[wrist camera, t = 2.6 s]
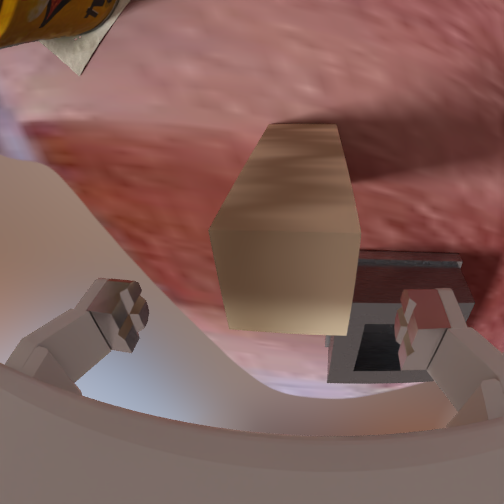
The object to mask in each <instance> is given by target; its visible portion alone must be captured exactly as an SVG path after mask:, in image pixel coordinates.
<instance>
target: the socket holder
mask: <svg viewBox="0 0 504 504" xmlns="http://www.w3.org/2000/svg"><path fill="white" fill-rule="evenodd" d="M462 262H463V261H462V259H461V257H460V255H459V254H456V253H426V252H395V251H363V250H359V257H358V265H357V273H356V280H355V287H354V294H353V300H352V307H351V313H350V319H349V324H348V330H347V336H337V335H326V338H325V347H329V350H328V374H327V383H410V382H428V381H434V380H433V378H432V377H431V376H430V375H429V373H428V372H427V370H402V371H401V367H400V361H399V356H398V351H399V348H400V346H401V345H400V344H399V343H398V342H397V341H396V338H395V330H394V326H395V317H396V313H397V310H398V309H399V308H401V307H402V304H401V300H400V299H401V295H402V292H403V291H404V289H435V288H450V289H452V291H453V293H454V295H455V298H456V300H457V302H458V305H459V307H460V309H461V312H462V314H463V317H464V319H465V322H466V321H467V319H468V317H469V315H470V313H471V311H472V308H473V306H474V304H475V301H474V299H473V297H472V294H471V292H470V290H469V287H468V285H467V283H466V280H465V278H464V276H463V274H462V272H461V269H460V268H461V265H462Z"/></svg>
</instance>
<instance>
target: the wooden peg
mask: <svg viewBox="0 0 504 504" xmlns="http://www.w3.org/2000/svg"><path fill="white" fill-rule="evenodd" d="M209 235H210V240H211V246H212V250H213V255H214V260H215V265H216V270H217V275H218V280H219V284H220V289H221V294H222V298H223V303H224V308H225V312H226V317H227V321H228V326H229V329H235V330H247V331H260V332H274V333H290V334H310V335H337V336H347V330H348V324H349V319H350V313H351V307H352V300H353V294H354V287H355V280H356V273H357V265H358V257H359V249H360V240H361V230H360V224H359V219H358V214H357V209H356V204H355V199H354V195H353V190H352V186H351V181H350V177H349V172H348V168H347V164H346V160H345V156H344V152H343V148H342V144H341V140H340V136H339V133H338V129H337V125H336V124H269V125H268V127H267V128H266V130H265V132H264V133H263V135H262V137H261V139H260V140H259V142H258V144H257V145H256V147H255V149H254V150H253V152H252V154H251V156H250V157H249V159H248V161H247V162H246V164H245V166H244V168H243V169H242V171H241V173H240V175H239V176H238V178H237V180H236V182H235V183H234V185H233V187H232V189H231V190H230V192H229V194H228V196H227V197H226V199H225V201H224V203H223V205H222V206H221V208H220V210H219V212H218V214H217V215H216V217H215V219H214V221H213V223H212V225H211V226H210V228H209Z"/></svg>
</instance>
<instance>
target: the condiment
mask: <svg viewBox="0 0 504 504" xmlns="http://www.w3.org/2000/svg"><path fill="white" fill-rule="evenodd" d="M129 1H130V0H0V49H3V48H7V47H12V46H17V45H19V44H24V43H29V42H35V41H39V42H40V43H41V44H43V45H44V46H45V47H47V48H48V49H49V50H50V51H51V52H52V53H53V54H55V55H57V56H58V58H59V59H60V60H61V61H63V62H64V63H65V64H66V65H68V66H69V67H70V68H71V69H72V70H73V71H74V72H75V73H76V74H77V75H78V76H80V74H81V72H82V71H83V68H84V67H85V65H86V64H87V62H88V61H89V59H90V57H91V55H92V53H93V52H94V50H95V49H96V47H97V46H98V44H99V42H100V41H101V40H102V38H103V37H104V35H105V34H106V32H107V31H108V30H109V28H110V27H111V26H112V24H113V23H114V22H115V20H116V19H117V17H118V16H119V14H120V13H121V12H122V11H123V9H124V8H125V6H126V5H127V4H128V3H129ZM79 36H81V38H79ZM75 38H77V40H76V41H75V40H74V39H75Z"/></svg>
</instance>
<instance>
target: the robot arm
mask: <svg viewBox="0 0 504 504" xmlns="http://www.w3.org/2000/svg"><path fill="white" fill-rule="evenodd" d="M141 291H142V290H141V287H140V285H139V283H138V282H136V281H129V280H119V279H106V278H98V279H96V280H95V281H94V283H93V284H92V285H91V287H90V288H89V289H88V291H87V292H86V293H85V295H84V296H83V297H82V299H81V300H80V302H79V303H78V304H77V306H76V307H75V309H70V310H68V311H66V312H65V313H63V314H61V315H60V316H58V317H57V318H55V319H53V320H52V321H50V322H48V323H47V324H45V325H44V326H42V327H41V328H39V329H37V330H36V331H34V332H32V333H31V334H29V335H28V336H26V337H24V338H23V339H22V340H21V341H20V343H19V344H18V345H17V347H16V348H15V350H14V351H13V353H12V354H11V356H10V357H9V359H8V360H7V362H6V363H5V365H4V364H2V363H0V504H504V355H503V354H502V353H501V352H500V351H499V350H498V349H496V348H495V347H494V346H493V345H492V344H491V343H490V342H488V341H487V340H486V339H485V338H484V337H483V336H481V335H480V334H479V333H478V332H477V331H476V330H474V329H473V328H472V327H467V325H466V322H465V319H464V317H463V314H462V312H461V309H460V307H459V305H458V302H457V300H456V298H455V295H454V293H453V291H452V289H450V288H435V289H404V291H403V292H402V295H401V299H400V300H401V304H402V307H401V308H399V309H398V310H397V313H396V317H395V326H394V330H395V338H396V341H397V342H398V343H399V344H400V345H401V346H400V348H399V351H398V356H399V361H400V367H401V371H402V370H427V372H428V373H429V375H430V376H431V377H432V378H433V380H434V381H435V382H436V383H437V385H438V386H439V387H440V389H441V390H442V391H443V392H444V394H445V395H446V396H447V398H448V399H449V400H450V402H451V403H452V404H453V406H454V407H455V408H456V409H457V411H458V413H457V414H456V415H455V416H454V418H453V419H452V420H451V421H450V422H449V423H448V424H447V426H446V428H442V429H435V430H427V431H419V432H409V433H399V434H386V435H367V436H303V435H302V436H301V435H284V434H270V433H259V432H249V431H240V430H232V429H224V428H217V427H210V426H204V425H198V424H192V423H187V422H182V421H177V420H171V419H167V418H162V417H157V416H153V415H149V414H145V413H140V412H136V411H132V410H129V409H125V408H121V407H118V406H114V405H111V404H107V403H104V402H100V401H97V400H94V399H91V398H88V397H85V396H82V393H81V391H80V389H79V388H78V387H77V386H76V385H75V384H74V383H75V382H76V381H77V380H78V379H79V378H80V377H82V376H83V375H84V374H85V373H86V372H87V371H88V370H90V369H91V368H92V367H93V366H94V365H95V364H97V363H98V362H99V361H100V360H101V359H103V358H104V357H105V356H106V355H107V354H108V353H109V352H111V350H116V351H122V352H129V353H132V352H133V350H134V348H135V346H136V344H137V342H138V340H139V334H138V332H139V331H141V330H142V329H144V328H145V326H146V324H147V321H148V316H149V309H148V305H147V302H146V300H145V299H144V298H142V297H141V296H140V294H141Z"/></svg>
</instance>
